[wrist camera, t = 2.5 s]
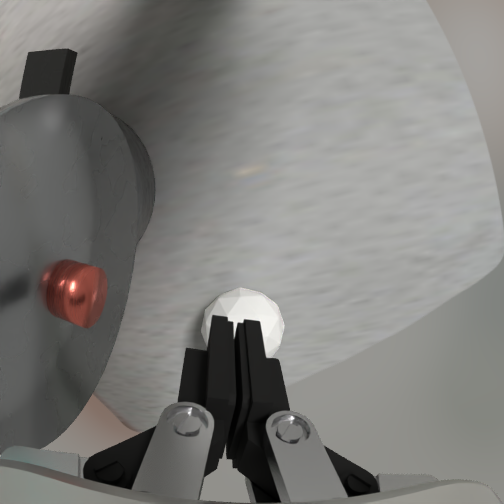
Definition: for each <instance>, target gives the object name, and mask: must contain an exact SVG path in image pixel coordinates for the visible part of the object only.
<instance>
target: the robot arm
mask: <svg viewBox="0 0 504 504" xmlns="http://www.w3.org/2000/svg"><path fill="white" fill-rule="evenodd" d="M225 445H226V456H227V459H232V463H233V468H237V469H238V471H239V472H240V473H242V474H243V475H244V476H246V477H245V483H246V487H247V491H248V494H249V498H250V502H251V503H231V502H215V501H202V500H199V499H200V495H201V490H202V486H203V481H204V477H205V476H207V475H208V474H210V473H211V472H213V471H214V470H216V469H217V466H218V462H219V459H222V456H223V453H224V448H225ZM0 504H503V503H502V501H501V500H500V498H499V497H498V495H497V494H496V493H495V492H494V491H493V490H492V489H491V488H490V487H489V486H488V485H486V484H484V483H481V482H478V481H472V480H461V479H455V480H454V479H453V480H441V481H439V480H438V479H437V478H435V477H434V476H432V475H426V474H380V473H379V474H378V475H377V476H373V475H372V474H371V473H369V472H368V471H366V470H365V469H363V468H361V467H359V466H358V465H356V464H354V463H352V462H351V461H349V460H347V459H345V458H344V457H342V456H340V455H338V454H337V453H335V452H334V451H332V450H330V449H329V448H327V447H325V446H324V445H323V443H322V441H321V439H320V437H319V435H318V433H317V431H316V429H315V427H314V425H313V423H312V422H311V421H310V420H309V419H308V418H307V417H306V416H304V415H302V414H300V413H297V412H293V411H290V408H289V403H288V398H287V394H286V389H285V385H284V380H283V375H282V371H281V366H280V362H279V360H278V359H276V358H266V353H265V347H264V341H263V335H262V329H261V323H260V321H256V320H248V319H244V321H243V323H240V322H238V323H237V327H236V332H235V337H234V324H233V322H232V321H228V317H225V316H218V315H212V319H211V326H210V332H209V339H208V345H207V351H205V350H198V349H191V348H186V351H185V357H184V364H183V370H182V376H181V383H180V389H179V396H178V402H177V403H174V404H171V405H169V406H168V407H167V408H165V409H164V411H163V412H162V414H161V416H160V419H159V421H158V424H157V426H155V427H153V428H151V429H149V430H147V431H145V432H142V433H140V434H138V435H136V436H134V437H132V438H130V439H128V440H125V441H123V442H121V443H119V444H117V445H115V446H112V447H110V448H108V449H105V450H103V451H101V452H98V453H96V454H94V455H93V456H91V457H89V458H85V457H84V458H83V457H79V454H74V453H65V452H56V451H49V450H42V449H36V448H30V447H24V446H12V447H9V448H7V449H6V450H5V451H4V452H2V454H1V457H0Z"/></svg>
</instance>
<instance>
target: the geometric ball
mask: <svg viewBox="0 0 504 504" xmlns="http://www.w3.org/2000/svg"><path fill="white" fill-rule="evenodd" d="M212 315H218V316H225V317H228V321H232V322H233V324H234V337H235V332H236V327H237V323H238V322H240V323H243V321H244V319H248V320H256V321H260V323H261V329H262V335H263V341H264V347H265V353H266V358H271V357H272V356H273V355H274V354H275V352H276V351H277V350H278V348H279V347H280V343H281V339H282V335H283V331H284V327H285V325H284V322H283V319H282V316H281V314H280V311H279V308H278V305H277V304H276V303H275V302H273V301H272V300H271V299H269V298H268V297H267V296H265V295H264V294H262V293H261V292H258V291H253V290H249V289H245V288H241V287H239V288H237V289H234V290H231V291H229V292H226V293H224V294H221V295H219V296H218V297H217V298H216V299H215V300H214V301H213V302H212V303H211V304H210V305H209V306H208V307H207V308H206V309H205V312H204V317H203V323H202V328H201V333H202V336H203V338H204V341H205V343H206V346H207V345H208V339H209V332H210V326H211V319H212Z"/></svg>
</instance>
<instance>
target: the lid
mask: <svg viewBox="0 0 504 504" xmlns="http://www.w3.org/2000/svg"><path fill="white" fill-rule="evenodd" d="M137 225H138V199H137V185H136V175H135V170H134V165H133V160H132V156H131V153H130V149H129V146H128V144H127V141H126V139H125V136H124V134H123V132H122V130H121V129H120V127H119V125H118V123H117V122H116V121H115V120H114V118H113V117H112V116H111V115H110V113H109V112H107V111H106V110H105V109H104V108H103V107H102V106H100V105H99V104H97V103H95V102H93V101H92V100H90V99H88V98H84V97H80V96H76V95H68V94H53V95H36V96H31V97H27V98H23V99H19V100H16V101H14V102H11V103H9V104H7V105H5V106H3V107H1V108H0V454H2V452H4V451H5V450H6V449H7V448H9V447H12V446H24V447H30V448H36V449H41V448H43V447H45V446H47V445H48V444H49V443H51V442H53V441H54V440H55V439H57V438H58V437H59V436H60V435H61V434H62V433H63V432H64V431H65V430H66V429H67V428H68V427H69V426H70V425H71V424H72V422H74V420H75V419H76V418H77V416H78V415H79V414H80V412H81V411H82V410H83V408H84V406H85V405H86V403H87V402H88V400H89V398H90V397H91V395H92V393H93V391H94V390H95V388H96V386H97V384H98V382H99V380H100V378H101V376H102V374H103V371H104V369H105V367H106V364H107V362H108V359H109V357H110V354H111V352H112V349H113V346H114V344H115V340H116V337H117V334H118V331H119V328H120V325H121V321H122V317H123V314H124V310H125V306H126V302H127V298H128V293H129V288H130V283H131V278H132V272H133V266H134V258H135V251H136V240H137Z"/></svg>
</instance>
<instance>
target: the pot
mask: <svg viewBox="0 0 504 504" xmlns="http://www.w3.org/2000/svg"><path fill="white" fill-rule="evenodd" d="M76 57H77V52H75V51H72V50H70V49H55V50H45V51H35V52H28V56H27V60H26V65H25V70H24V75H23V80H22V85H21V91H20V97H19V99H23V98H27V97H31V96H36V95H53V94H68V95H69V92H70V86H71V81H72V76H73V71H74V66H75V62H76ZM110 115H111V114H110ZM111 116H112V117H113V118H114V120H115V121H116V122H117V123H118V125H119V127H120V129H121V130H122V132H123V134H124V136H125V139H126V141H127V144H128V146H129V149H130V153H131V156H132V160H133V165H134V170H135V175H136V185H137V199H138V225H137V240H136V243H137V242H138V241H139V240H140V238H141V237H142V235H143V233H144V232H145V230H146V228H147V226H148V223H149V221H150V218H151V215H152V212H153V207H154V201H155V178H154V173H153V167H152V164H151V161H150V158H149V155H148V153H147V151H146V149H145V147H144V145H143V144H142V142H141V140H140V139H139V137H138V136H137V135H136V134H135V132H134V131H133V130H132V129H131V128H130V127H129V126H128V125H126V124H125V123H124V122H123V121H121V120H120V119H118V118H117V117H115V116H113V115H111Z"/></svg>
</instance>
